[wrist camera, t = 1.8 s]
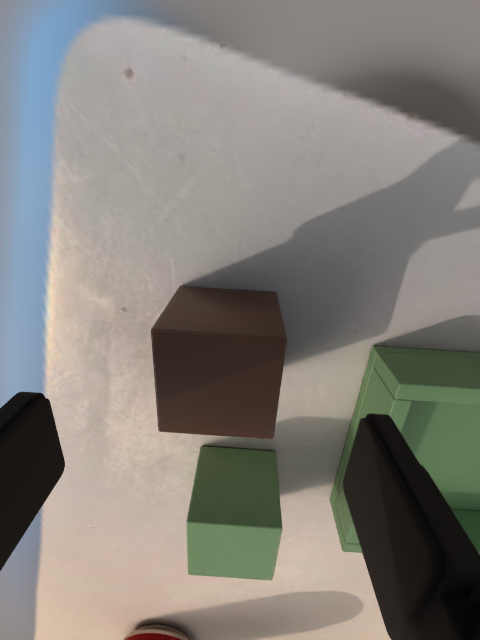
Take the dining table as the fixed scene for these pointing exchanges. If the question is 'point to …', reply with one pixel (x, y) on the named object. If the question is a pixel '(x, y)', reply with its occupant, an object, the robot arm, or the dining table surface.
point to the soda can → (156, 633)
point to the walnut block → (219, 362)
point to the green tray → (424, 426)
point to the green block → (234, 514)
